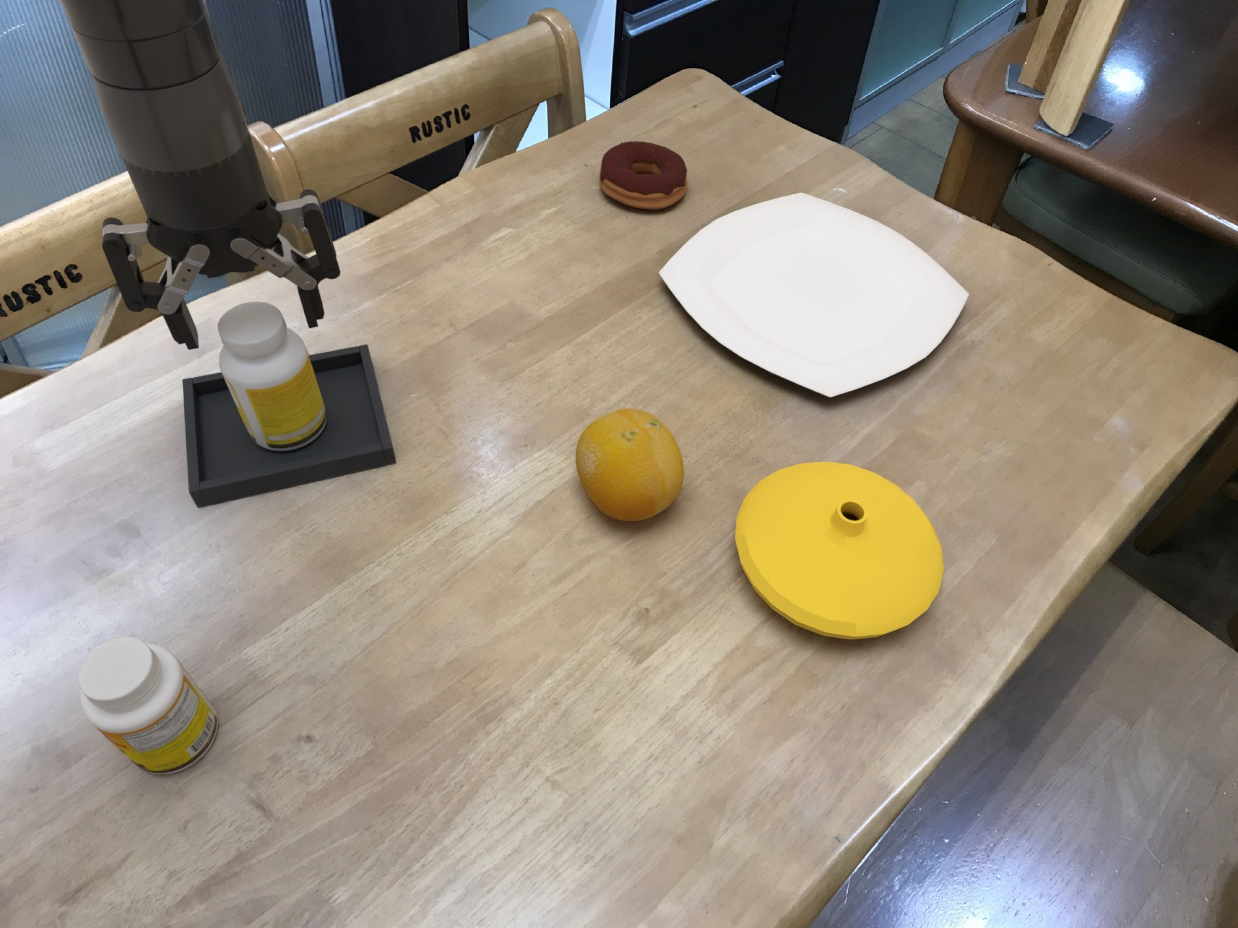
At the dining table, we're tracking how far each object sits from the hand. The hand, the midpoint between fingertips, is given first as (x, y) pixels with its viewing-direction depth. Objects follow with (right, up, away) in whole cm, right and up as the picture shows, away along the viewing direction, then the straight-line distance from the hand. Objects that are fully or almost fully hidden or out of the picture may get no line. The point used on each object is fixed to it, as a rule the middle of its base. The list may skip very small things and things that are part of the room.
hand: (254, 331), depth 66 cm
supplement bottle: (-2, -28, -8) cm, 29 cm away
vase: (+44, -18, +3) cm, 48 cm away
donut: (+30, +21, +33) cm, 49 cm away
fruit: (+28, -13, +6) cm, 31 cm away
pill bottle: (-1, -7, +8) cm, 11 cm away
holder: (-1, -7, +9) cm, 11 cm away
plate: (+47, +7, +23) cm, 52 cm away
